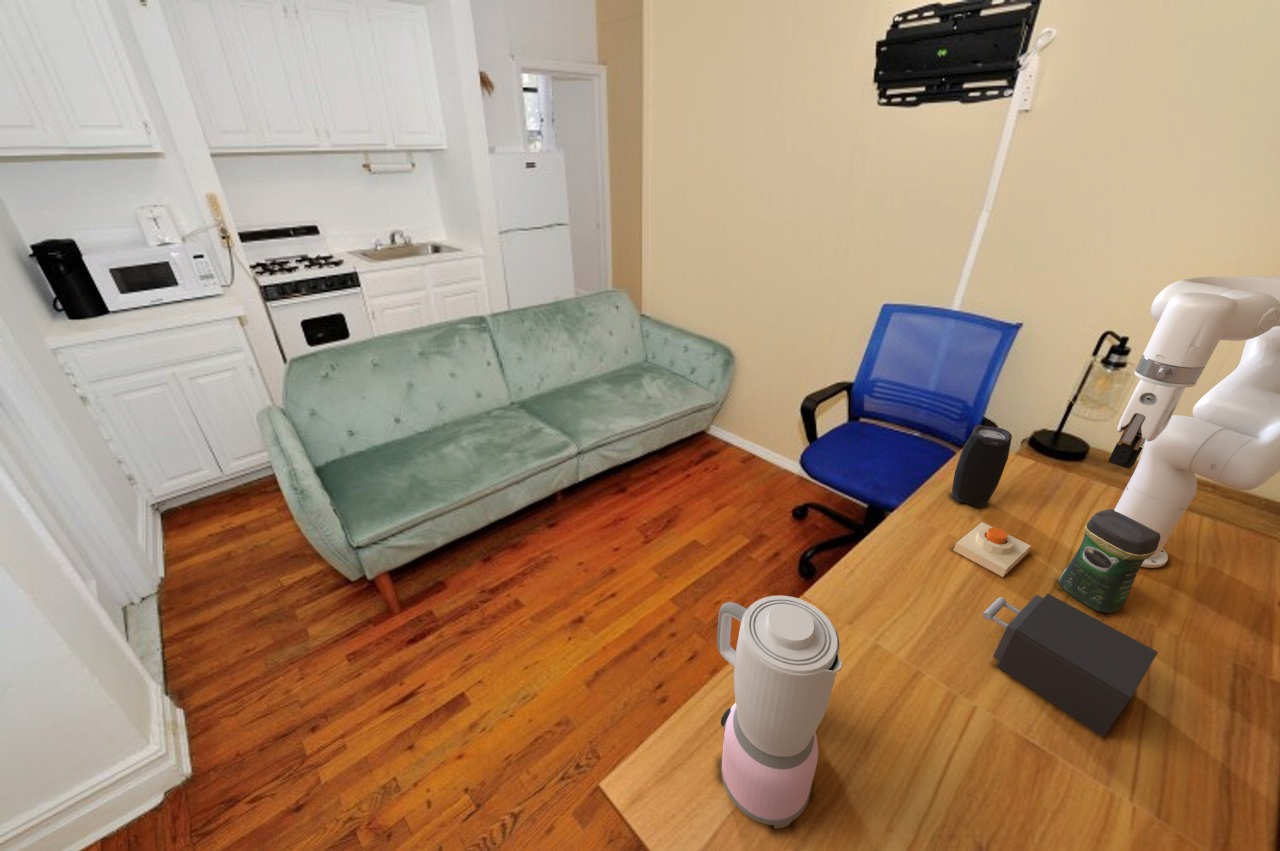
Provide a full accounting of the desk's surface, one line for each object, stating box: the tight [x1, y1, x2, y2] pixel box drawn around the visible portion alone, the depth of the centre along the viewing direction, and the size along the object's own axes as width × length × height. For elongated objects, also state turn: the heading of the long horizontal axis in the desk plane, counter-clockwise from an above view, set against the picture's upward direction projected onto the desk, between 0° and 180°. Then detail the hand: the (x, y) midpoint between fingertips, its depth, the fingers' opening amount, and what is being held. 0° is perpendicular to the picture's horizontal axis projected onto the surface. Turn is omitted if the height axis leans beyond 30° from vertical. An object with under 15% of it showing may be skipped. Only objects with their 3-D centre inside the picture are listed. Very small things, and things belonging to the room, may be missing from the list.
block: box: [953, 521, 1032, 578], centre depth 110 cm, size 12×10×4 cm
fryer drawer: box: [982, 594, 1044, 662], centre depth 84 cm, size 18×11×8 cm, turn 35°
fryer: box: [997, 593, 1159, 738], centre depth 82 cm, size 15×13×10 cm
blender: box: [716, 594, 843, 829], centre depth 65 cm, size 16×12×32 cm
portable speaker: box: [951, 424, 1013, 509], centre depth 123 cm, size 9×9×20 cm
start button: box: [986, 527, 1009, 545], centre depth 108 cm, size 4×4×2 cm
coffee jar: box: [1058, 508, 1161, 614], centre depth 95 cm, size 10×8×19 cm
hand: (1120, 464), depth 92 cm, fingers closed
